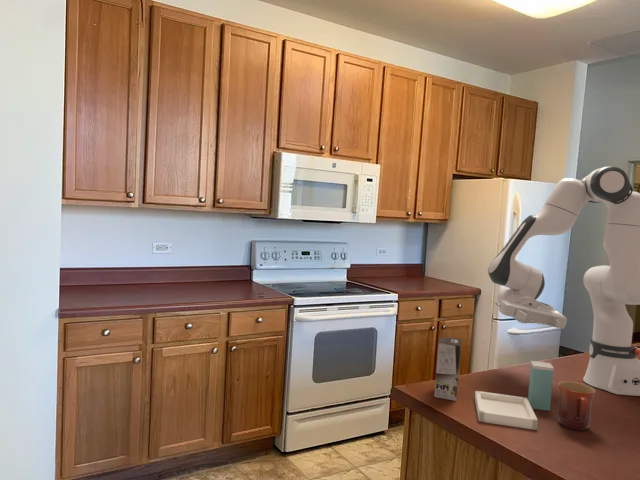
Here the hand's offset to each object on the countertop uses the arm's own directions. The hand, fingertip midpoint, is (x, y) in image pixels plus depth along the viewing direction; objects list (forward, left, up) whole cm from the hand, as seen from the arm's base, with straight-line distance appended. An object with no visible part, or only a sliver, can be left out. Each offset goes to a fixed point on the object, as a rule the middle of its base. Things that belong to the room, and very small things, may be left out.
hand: (542, 321), depth 147 cm
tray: (+12, +19, -23) cm, 32 cm away
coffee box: (+27, +10, -23) cm, 36 cm away
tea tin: (+1, +10, -23) cm, 25 cm away
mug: (-5, +22, -23) cm, 32 cm away
